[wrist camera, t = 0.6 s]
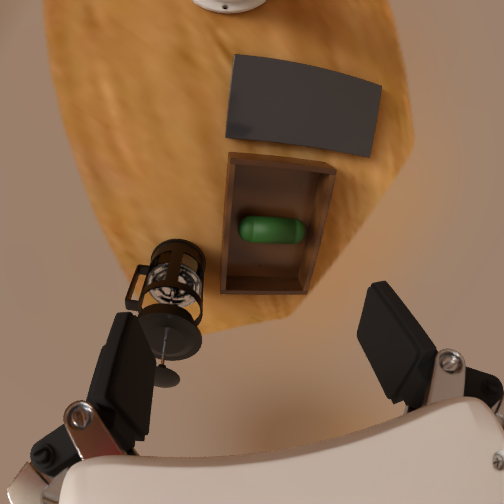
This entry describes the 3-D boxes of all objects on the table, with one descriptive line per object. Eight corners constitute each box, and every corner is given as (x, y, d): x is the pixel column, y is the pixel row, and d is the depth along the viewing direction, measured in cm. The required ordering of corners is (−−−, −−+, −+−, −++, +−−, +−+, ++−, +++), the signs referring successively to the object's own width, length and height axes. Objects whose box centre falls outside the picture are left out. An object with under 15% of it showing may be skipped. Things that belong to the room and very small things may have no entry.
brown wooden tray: (228, 151, 37) (229, 158, 33) (325, 162, 40) (336, 169, 36) (219, 277, 48) (220, 294, 44) (300, 279, 50) (306, 294, 46)
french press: (213, 242, 44) (214, 360, 25) (206, 288, 49) (206, 404, 29) (141, 234, 42) (96, 344, 22) (142, 280, 47) (112, 392, 27)
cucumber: (238, 210, 42) (240, 221, 38) (303, 214, 43) (311, 225, 40) (235, 234, 44) (237, 247, 40) (299, 237, 45) (306, 249, 42)
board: (233, 55, 30) (234, 54, 29) (377, 85, 33) (382, 85, 32) (225, 136, 36) (225, 138, 35) (365, 155, 39) (369, 157, 38)
